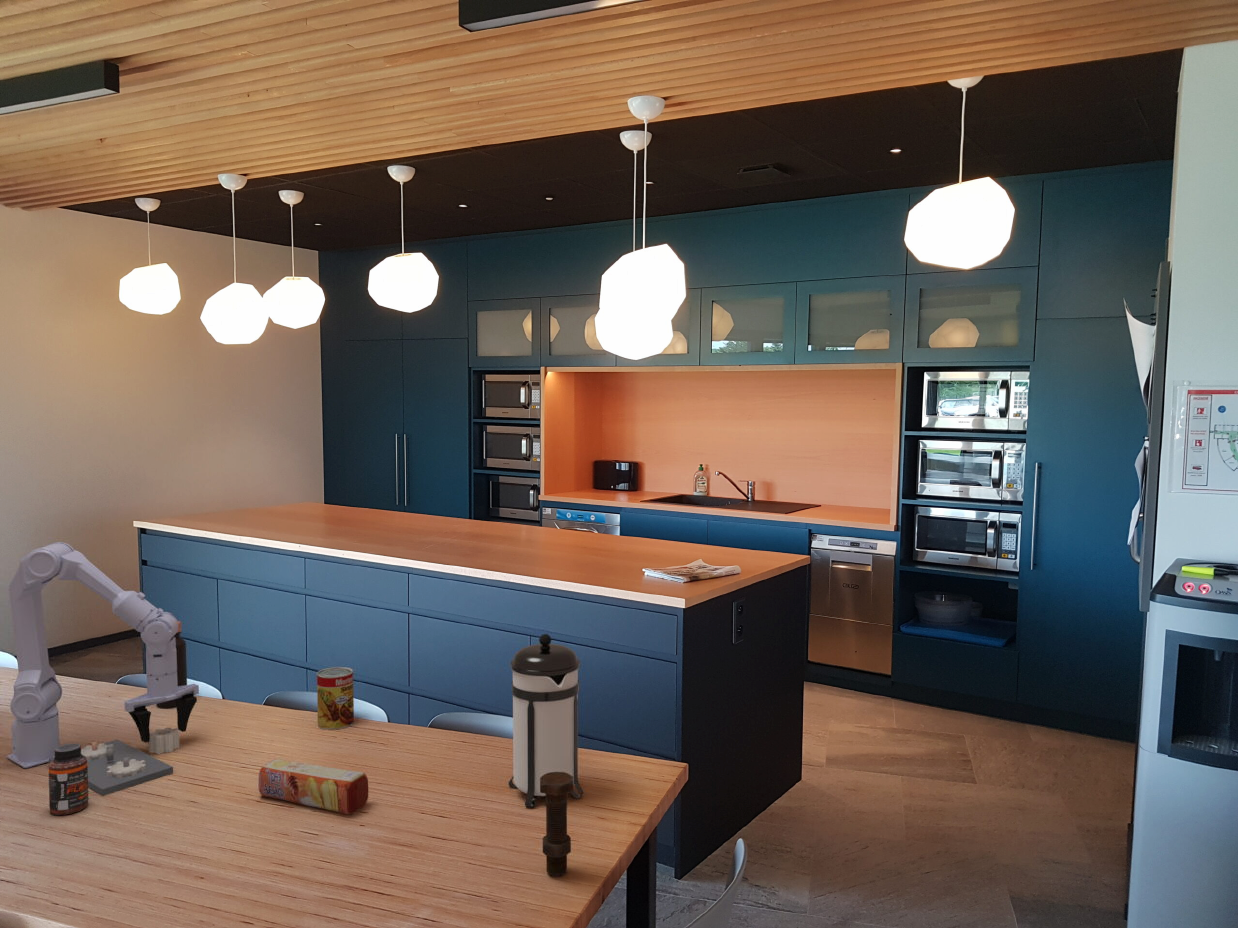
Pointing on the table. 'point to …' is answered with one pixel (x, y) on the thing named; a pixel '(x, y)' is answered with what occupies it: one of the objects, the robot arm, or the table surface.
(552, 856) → the bolt
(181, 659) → the vinegar
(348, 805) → the snack package
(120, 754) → the gear board
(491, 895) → the table surface
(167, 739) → the idler gear
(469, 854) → the table surface
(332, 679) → the canned food
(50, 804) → the supplement bottle
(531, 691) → the coffee press
